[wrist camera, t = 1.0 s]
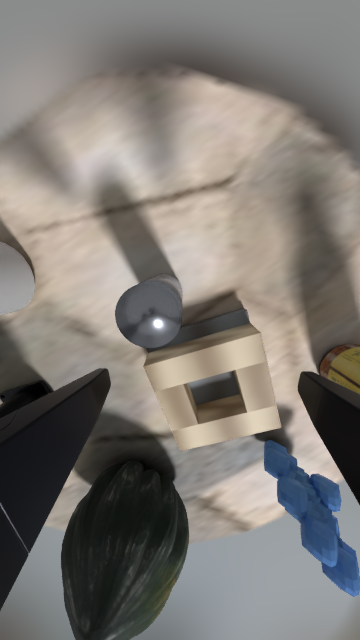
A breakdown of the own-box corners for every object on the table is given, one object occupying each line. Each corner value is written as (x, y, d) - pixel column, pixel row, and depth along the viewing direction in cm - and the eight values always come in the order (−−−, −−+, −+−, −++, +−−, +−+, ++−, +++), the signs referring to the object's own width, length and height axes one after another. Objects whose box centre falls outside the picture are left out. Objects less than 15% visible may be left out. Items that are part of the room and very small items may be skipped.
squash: (158, 578, 28) (176, 748, 14) (61, 548, 27) (-16, 698, 14) (185, 465, 34) (217, 509, 20) (107, 438, 33) (86, 465, 20)
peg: (153, 314, 22) (130, 355, 12) (141, 280, 20) (104, 296, 11) (187, 303, 21) (190, 337, 12) (175, 268, 20) (169, 274, 10)
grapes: (324, 461, 28) (424, 601, 16) (284, 481, 29) (351, 623, 18) (284, 412, 25) (368, 536, 14) (242, 436, 27) (287, 567, 15)
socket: (183, 431, 26) (184, 459, 23) (145, 338, 22) (138, 353, 19) (268, 410, 25) (283, 437, 21) (244, 308, 21) (257, 318, 17)
